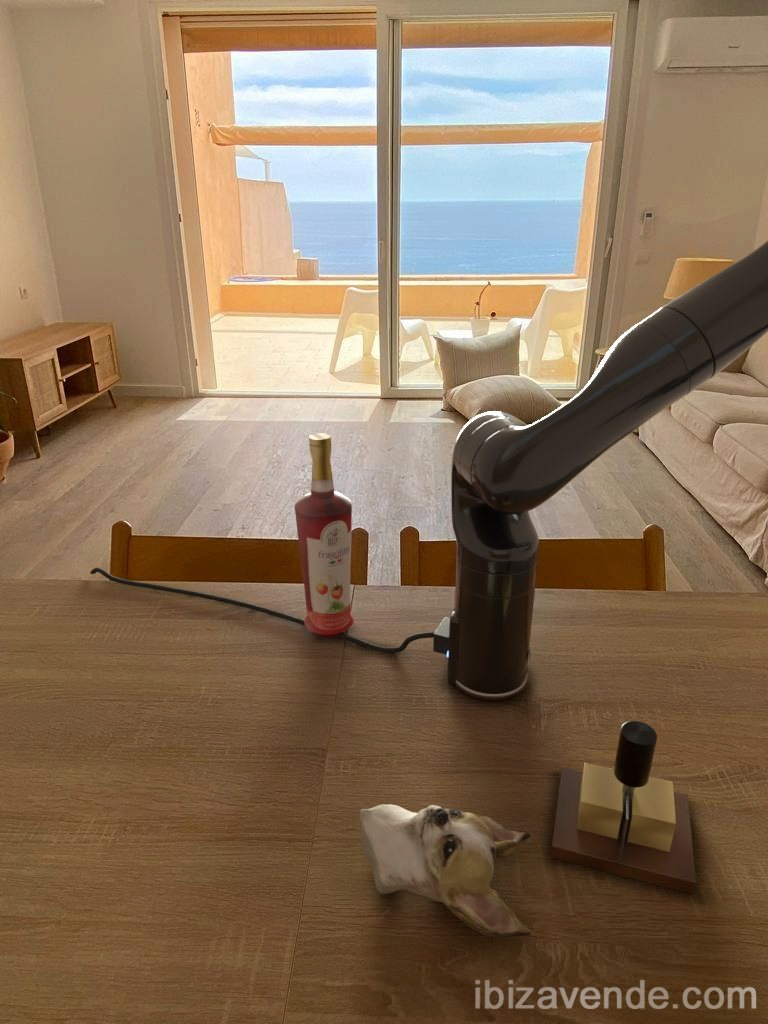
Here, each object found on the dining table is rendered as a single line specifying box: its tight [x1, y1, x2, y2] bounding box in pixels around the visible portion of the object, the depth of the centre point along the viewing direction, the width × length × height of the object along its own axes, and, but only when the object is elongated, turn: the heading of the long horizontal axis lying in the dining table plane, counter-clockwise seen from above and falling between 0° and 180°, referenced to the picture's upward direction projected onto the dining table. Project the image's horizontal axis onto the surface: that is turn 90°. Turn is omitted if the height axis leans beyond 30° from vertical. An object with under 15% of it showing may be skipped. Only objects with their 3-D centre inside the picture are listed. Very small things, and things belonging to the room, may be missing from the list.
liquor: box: [294, 432, 355, 638], centre depth 91 cm, size 7×7×28 cm
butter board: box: [550, 762, 697, 895], centre depth 64 cm, size 12×10×5 cm
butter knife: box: [613, 720, 658, 847], centre depth 63 cm, size 3×6×10 cm, turn 162°
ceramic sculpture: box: [358, 803, 533, 939], centre depth 59 cm, size 11×9×15 cm
